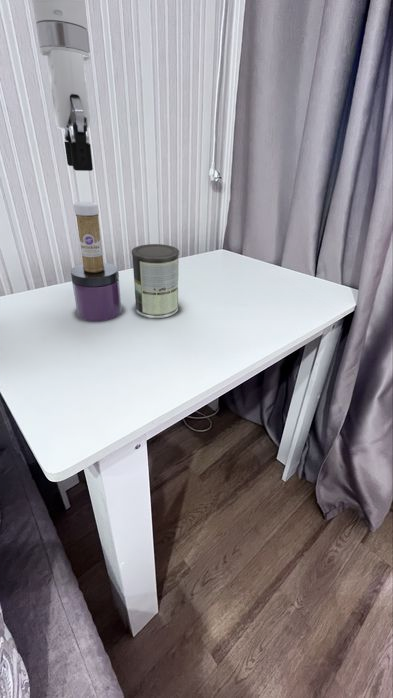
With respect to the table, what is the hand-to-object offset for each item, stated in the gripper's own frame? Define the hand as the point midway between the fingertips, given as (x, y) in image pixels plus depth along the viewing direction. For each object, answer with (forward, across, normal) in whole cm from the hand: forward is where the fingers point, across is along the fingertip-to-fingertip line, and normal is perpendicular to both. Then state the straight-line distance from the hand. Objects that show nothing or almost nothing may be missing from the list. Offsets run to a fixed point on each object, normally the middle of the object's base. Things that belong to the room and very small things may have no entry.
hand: (79, 168), depth 61 cm
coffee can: (+30, +3, +14) cm, 33 cm away
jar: (+30, 0, +1) cm, 30 cm away
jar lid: (+20, 0, 0) cm, 20 cm away
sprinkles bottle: (+20, 0, 0) cm, 20 cm away
